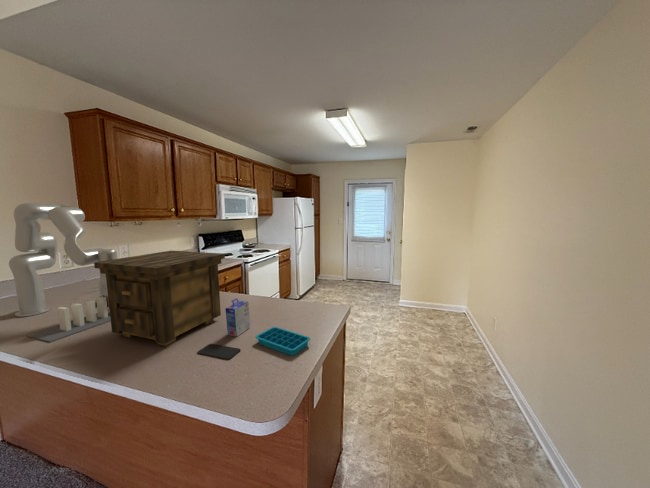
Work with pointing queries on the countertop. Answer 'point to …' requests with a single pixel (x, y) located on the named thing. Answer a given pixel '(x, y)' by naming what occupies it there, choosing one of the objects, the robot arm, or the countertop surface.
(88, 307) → the ivory tile
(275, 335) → the ice cube tray
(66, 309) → the ivory tile
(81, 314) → the ivory tile
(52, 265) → the robot arm
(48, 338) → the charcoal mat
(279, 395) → the countertop surface
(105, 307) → the ivory tile
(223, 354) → the phone
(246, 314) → the ink cartridge box
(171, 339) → the wooden nightstand
